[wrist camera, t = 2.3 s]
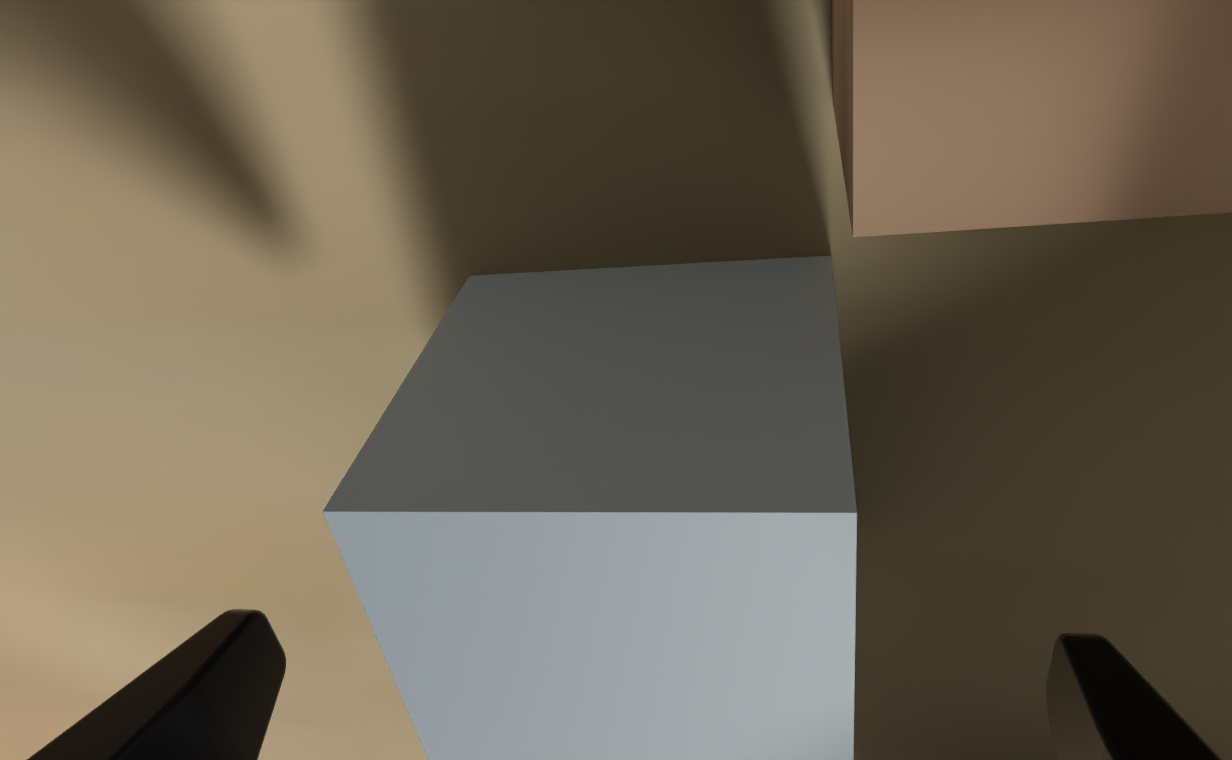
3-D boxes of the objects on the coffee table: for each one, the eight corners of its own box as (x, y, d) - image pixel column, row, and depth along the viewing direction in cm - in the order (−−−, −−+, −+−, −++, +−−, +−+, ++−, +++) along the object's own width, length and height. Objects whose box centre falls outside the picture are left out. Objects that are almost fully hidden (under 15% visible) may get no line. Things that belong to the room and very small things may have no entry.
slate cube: (832, 532, 14) (852, 834, 10) (536, 530, 15) (447, 804, 11) (830, 252, 12) (856, 513, 8) (470, 272, 13) (322, 511, 9)
